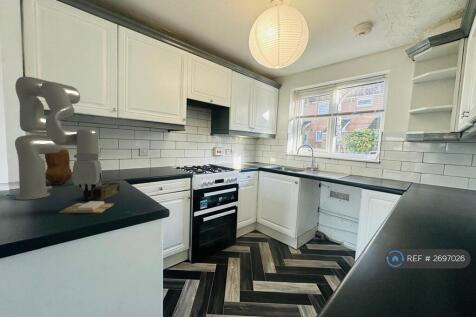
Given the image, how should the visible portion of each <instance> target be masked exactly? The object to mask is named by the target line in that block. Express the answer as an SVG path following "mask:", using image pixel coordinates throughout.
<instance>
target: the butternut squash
mask: <svg viewBox="0 0 476 317" xmlns="http://www.w3.org/2000/svg"><path fill="white" fill-rule="evenodd" d="M70 160H71V159H70V153H69V149H68V148H67V147H65V146H61V150H60V151H59V152H58V153H54V154H44V161H45V164H46V169H45V174H46V180H47V181H48V182H50V183H51V184H53V185H65V184H66V183H67V182H68V181H69V180H70V179H72V173H73V170H72V169H71V166H70V163H71V162H70Z"/></svg>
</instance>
